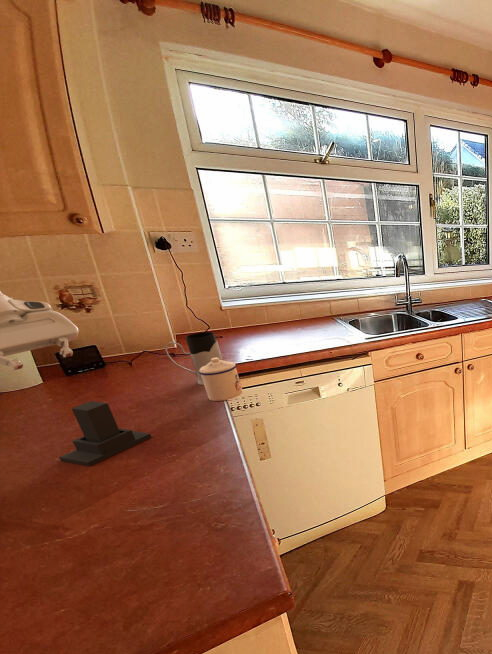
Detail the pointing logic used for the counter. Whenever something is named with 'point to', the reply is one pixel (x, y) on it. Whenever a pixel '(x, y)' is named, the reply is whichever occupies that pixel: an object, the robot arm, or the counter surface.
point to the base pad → (103, 447)
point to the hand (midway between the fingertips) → (45, 361)
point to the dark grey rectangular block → (96, 421)
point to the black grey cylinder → (200, 351)
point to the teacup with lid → (221, 380)
